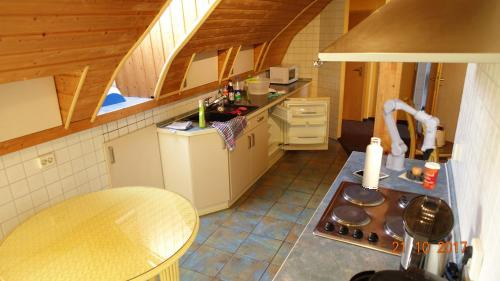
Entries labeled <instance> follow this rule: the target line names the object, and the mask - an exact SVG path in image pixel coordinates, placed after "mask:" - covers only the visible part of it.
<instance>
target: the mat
mask: <svg viewBox="0 0 500 281" xmlns="http://www.w3.org/2000/svg"><path fill="white" fill-rule="evenodd" d="M397 177H398V178H401V179H405V180H407V181H410V182H414V183H418V184H421V185H423V182H416V181H412V180H409V179H407V178H406V172H404V173H402V174H400V175H398V176H397Z"/></svg>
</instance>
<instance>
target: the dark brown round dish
mask: <svg viewBox="0 0 500 281" xmlns="http://www.w3.org/2000/svg"><path fill="white" fill-rule="evenodd" d="M406 178H407V179H409V180H408V181H410V180H412V181H411V182H414V181H416V182H415V183H417V182H423V181H424V171H422V173H421V176H418V175H413V174H412V169H409V170H408V169H407V170H406ZM407 179H406V180H407Z"/></svg>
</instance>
